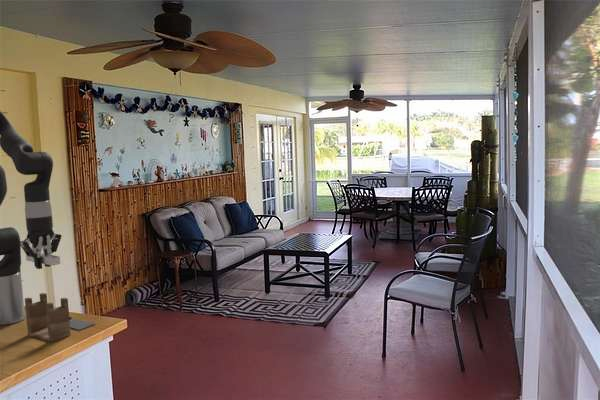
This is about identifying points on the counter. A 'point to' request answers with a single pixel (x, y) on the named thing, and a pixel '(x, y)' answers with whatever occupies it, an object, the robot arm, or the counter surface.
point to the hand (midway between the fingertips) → (43, 267)
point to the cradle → (47, 319)
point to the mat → (80, 324)
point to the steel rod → (46, 259)
